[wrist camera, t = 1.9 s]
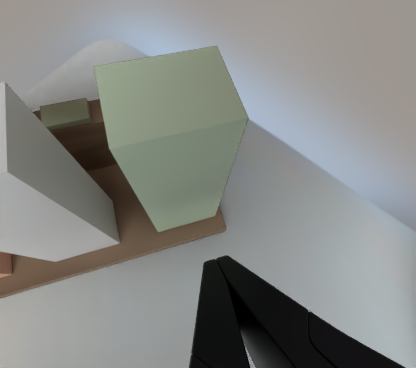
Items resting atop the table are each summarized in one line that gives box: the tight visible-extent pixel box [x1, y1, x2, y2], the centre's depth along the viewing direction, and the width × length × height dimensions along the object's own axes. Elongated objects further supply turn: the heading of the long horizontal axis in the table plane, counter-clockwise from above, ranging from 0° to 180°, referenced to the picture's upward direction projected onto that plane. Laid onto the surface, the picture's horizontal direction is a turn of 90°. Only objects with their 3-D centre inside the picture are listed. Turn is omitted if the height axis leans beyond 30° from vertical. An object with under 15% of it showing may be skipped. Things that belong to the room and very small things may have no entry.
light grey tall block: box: [0, 82, 120, 262], centre depth 12 cm, size 3×4×11 cm
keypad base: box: [0, 98, 226, 298], centre depth 15 cm, size 8×18×6 cm, turn 107°
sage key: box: [94, 46, 248, 232], centre depth 13 cm, size 3×4×11 cm
